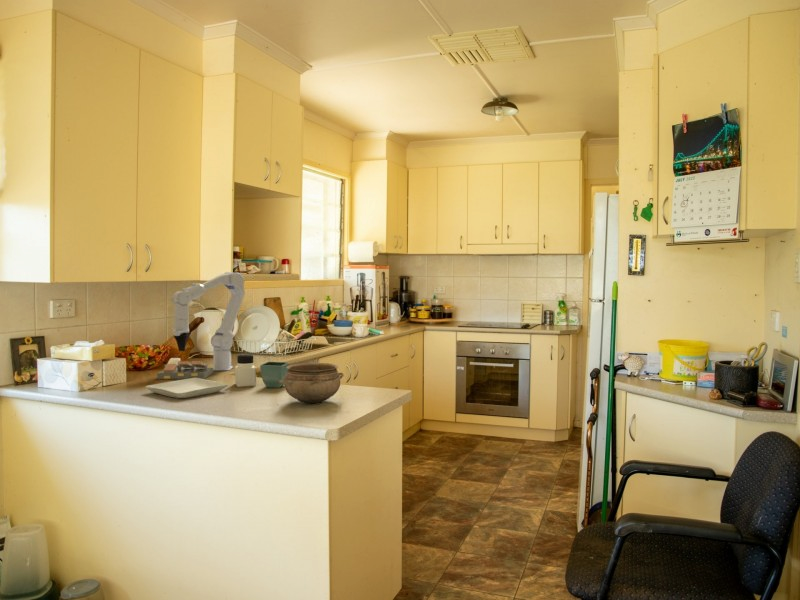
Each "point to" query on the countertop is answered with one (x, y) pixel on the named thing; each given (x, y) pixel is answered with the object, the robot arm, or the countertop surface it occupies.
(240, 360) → the medicine bottle
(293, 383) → the cooking pot
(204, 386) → the salad plate
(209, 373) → the switch unit
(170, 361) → the left rocker
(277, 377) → the flower pot
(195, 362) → the right rocker
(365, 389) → the countertop surface
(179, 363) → the middle rocker
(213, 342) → the robot arm
